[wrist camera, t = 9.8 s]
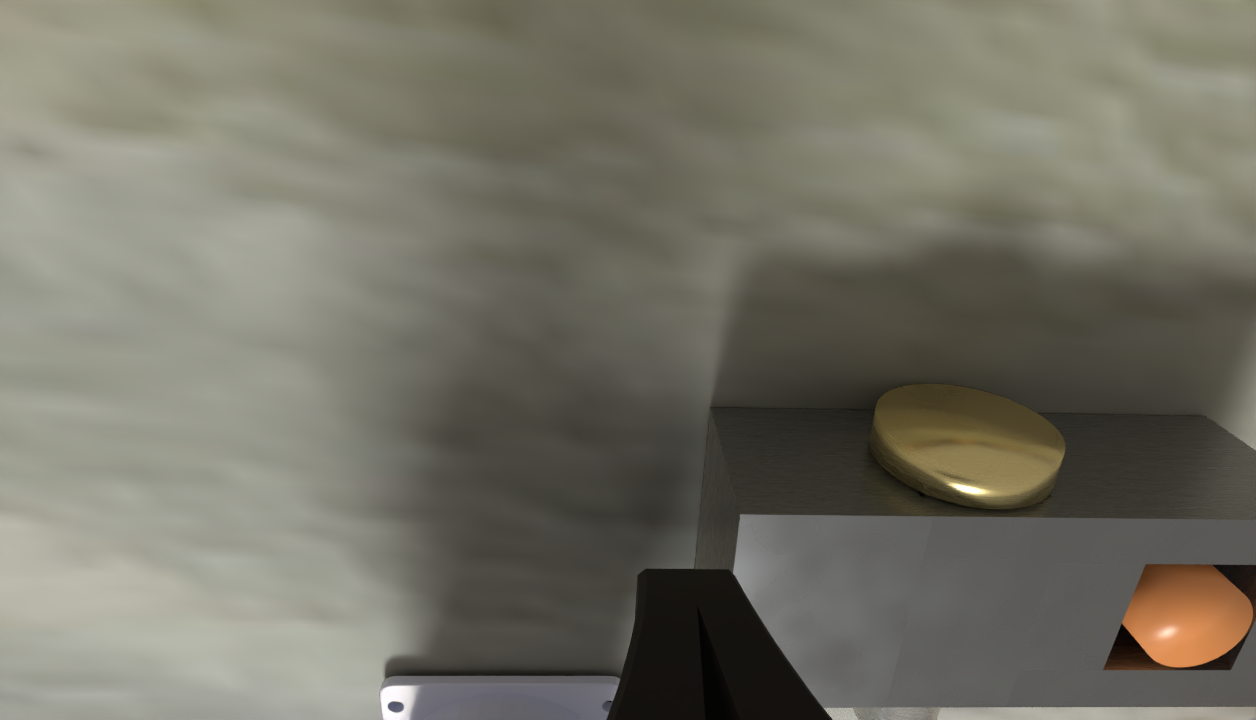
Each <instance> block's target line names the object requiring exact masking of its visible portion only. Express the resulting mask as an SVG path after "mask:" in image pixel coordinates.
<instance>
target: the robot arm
mask: <svg viewBox="0 0 1256 720" xmlns="http://www.w3.org/2000/svg"><path fill="white" fill-rule="evenodd" d="M379 696H380V703H381V711H382V719H383V720H832V719H831V717H830V716H829V715H828V714H827V712H826V711H825V710H824V708H823V707H822V706H821V704H820V703H819V702H818V701H817V699H816V698H815V697H814V695H813V694H812V693H811V691H810V690H809V689H808V687H807V686H806V684H805V683H804V682H803V680H802V679H801V677H800V676H799V675H798V673H797V672H796V671H795V669H794V668H793V666H792V665H791V664H790V662H789V661H788V659H787V658H786V657H785V655H784V654H783V652H782V651H781V649H780V648H779V646H778V645H777V643H776V642H775V640H774V639H773V637H772V636H771V634H770V633H769V631H768V630H767V628H766V627H765V625H764V623H763V622H762V620H761V619H760V617H759V616H758V614H757V612H756V611H755V609H754V608H753V606H752V604H751V603H750V601H749V599H748V598H747V596H746V594H745V592H744V591H743V589H742V587H741V585H740V584H739V582H738V580H737V578H736V576H735V575H734V574H733V573H732V572H731V571H730V570H729V569H645V570H643V571H642V572H641V573H640V574H638V576H637V594H636V611H635V623H634V628H633V633H632V638H631V642H630V646H629V649H628V653H627V657H626V660H625V664H624V668H623V671H622V675H621V679H620V678H618V677H615V676H392V677H389V678H387V679H385V680H384V681H383V683H382V686H381V689H380V694H379ZM394 701H398V702H401V703H398V702H394ZM606 701H613V702H606Z"/></svg>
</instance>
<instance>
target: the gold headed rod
mask: <svg viewBox="0 0 1256 720" xmlns="http://www.w3.org/2000/svg"><path fill="white" fill-rule="evenodd" d="M869 446H870V450H871V452H872V455H873V457H874V458H875V459H876V461H877V462H878V463H879V464H880V465H881V466H882V467H883V468H884V469H885V470H886V471H887V472H888V473H890V474H891V475H892V476H894V477H895V478H896V479H898V480H899V481H901V482H903V483H905V484H906V485H908V486H910V487H912V488H914V489H916V490H917V492H918V493H919V495H920V496H933V497H935V498H939V499H942V500H945V501H948V502H952V503H956V504H960V505H965V506H970V507H977V508H985V509H1015V508H1022V507H1026V506H1031V505H1033V504H1036V503H1039V502H1040V501H1042V500H1044V499H1045V498H1046V497H1047V496H1048V495H1050V493H1051V492H1052V490H1053V487H1054V484H1055V481H1056V478H1057V475H1058V472H1059V469H1060V466H1061V463H1062V460H1063V457H1064V453H1065V449H1066V447H1065V441H1064V439H1063V437H1062V435H1061V434H1060V432H1059V431H1058V430H1057V429H1056V428H1055V427H1054V426H1053V425H1052V424H1051V423H1050V422H1049V421H1048V420H1046V419H1045V418H1044V417H1042V416H1041V415H1039V414H1038V413H1036V412H1034V411H1032V410H1031V409H1029V408H1027V407H1025V406H1023V405H1021V404H1019V403H1016V402H1014V401H1012V400H1009V399H1006V398H1004V397H1001V396H998V395H995V394H992V393H988V392H985V391H981V390H977V389H972V388H967V387H961V386H955V385H945V384H914V385H907V386H902V387H898V388H895V389H893V390H890V391H888V392H887V393H885V394H884V395H882V396H881V397H880V399H879V400H878V401H877V404H876V408H875V413H874V418H873V423H872V428H871V434H870V439H869ZM940 708H941V707H859V708H853V709H854V712H855V714H856V716H857V718H858V720H937V718H938V714H939V711H940Z"/></svg>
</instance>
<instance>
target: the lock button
mask: <svg viewBox="0 0 1256 720" xmlns="http://www.w3.org/2000/svg"><path fill="white" fill-rule="evenodd" d="M1252 618H1253V608H1252V605H1251V602H1250V600H1249V599H1248V598H1247V597H1246V595H1245V594H1243V593H1242V592H1241V591H1240V590H1239V589H1238V588H1237V587H1236V586H1235V585H1234V584H1233V583H1231V582H1230V581H1229V580H1228V579H1227V578H1226V577H1225V576H1224V575H1223V574H1222V573H1221V572H1219V571H1218V570H1217V569H1216V568H1215V567H1214V566H1213V565H1204V564H1146V565H1145V567H1144V569H1143V572H1142V574H1141V577H1140V579H1139V582H1138V584H1137V587H1136V589H1135V592H1134V594H1133V597H1132V599H1131V602H1130V604H1129V607H1128V609H1127V612H1126V614H1125V617H1124V619H1123V622H1122V624H1123V625H1124V626H1125V628H1126V629H1127V630H1128V631H1129V632H1130V634H1131V635H1132V636H1133V637H1134V638H1135V639H1136V641H1137V642H1138V643H1139V644H1140V645H1141V647H1142V648H1143V649H1144V650H1145V651H1146V652H1147V654H1148V655H1149V656H1150V657H1151V658H1152V659H1153V660H1155V661H1156V662H1158V663H1160V664H1162V665H1166V666H1170V667H1191V666H1196V665H1200V664H1203V663H1207V662H1209V661H1212V660H1214V659H1216V658H1218V657H1220V656H1222V655H1223V654H1225V653H1226V652H1228V651H1229V650H1231V649H1232V648H1233V647H1234V646H1235V645H1236V644H1238V643H1239V641H1240V640H1241V639H1242V638H1243V637H1244V636H1245V634H1246V633H1247V631H1248V629H1249V627H1250V625H1251V622H1252Z"/></svg>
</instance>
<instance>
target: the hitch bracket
mask: <svg viewBox="0 0 1256 720" xmlns="http://www.w3.org/2000/svg"><path fill="white" fill-rule="evenodd" d="M874 413H875V410H831V409H774V408H718V407H710V415H709V425H708V436H707V446H706V456H705V467H704V477H703V487H702V498H701V508H700V518H699V529H698V539H697V549H696V560H695V569H729V570H730V571H731V572H732V573H733V574H734V575H735V576H736V578H737V580H738V582H739V584H740V585H741V587H742V589H743V591H744V592H745V594H746V596H747V598H748V599H749V601H750V603H751V604H752V606H753V608H754V609H755V611H756V612H757V614H758V616H759V617H760V619H761V620H762V622H763V623H764V625H765V627H766V628H767V630H768V631H769V633H770V634H771V636H772V637H773V639H774V640H775V642H776V643H777V645H778V646H779V648H780V649H781V651H782V652H783V654H784V655H785V657H786V658H787V659H788V661H789V662H790V664H791V665H792V666H793V668H794V669H795V671H796V672H797V673H798V675H799V676H800V677H801V679H802V680H803V682H804V683H805V684H806V686H807V687H808V689H809V690H810V691H811V693H812V694H813V695H814V697H815V698H816V699H817V701H818V702H819V703H820V704H821V706H822V707H823V708H859V707H1256V450H1254V449H1253V448H1251V447H1250V446H1248V445H1247V444H1245V443H1244V442H1242V441H1241V440H1239V439H1238V438H1236V437H1235V436H1234V435H1232V434H1231V433H1229V432H1228V431H1226V430H1225V429H1223V428H1222V427H1220V426H1219V425H1217V424H1216V423H1215V422H1213V421H1212V420H1210V419H1209V418H1207V417H1206V416H1167V415H1111V414H1055V413H1038V414H1039V415H1041V416H1042V417H1044V418H1045V419H1046V420H1048V421H1049V422H1050V423H1051V424H1052V425H1053V426H1054V427H1055V428H1056V429H1057V430H1058V431H1059V432H1060V434H1061V435H1062V437H1063V439H1064V441H1065V447H1066V449H1065V453H1064V457H1063V460H1062V463H1061V466H1060V469H1059V472H1058V475H1057V478H1056V481H1055V484H1054V487H1053V490H1052V492H1051V493H1050V495H1048V496H1047V497H1046V498H1045V499H1044V500H1042V501H1040V502H1039V503H1036V504H1033V505H1031V506H1026V507H1022V508H1015V509H985V508H977V507H970V506H965V505H960V504H956V503H952V502H948V501H945V500H942V499H939V498H935V497H933V496H920V495H919V493H918V492H917V490H916V489H914V488H912V487H910V486H908V485H906V484H905V483H903V482H901V481H899V480H898V479H896V478H895V477H894V476H892V475H891V474H890V473H888V472H887V471H886V470H885V469H884V468H883V467H882V466H881V465H880V464H879V463H878V462H877V461H876V459H875V458H874V457H873V455H872V452H871V450H870V446H869V439H870V434H871V428H872V423H873V418H874ZM1146 564H1204V565H1213V566H1214V567H1215V568H1216V569H1217V570H1218V571H1219V572H1221V573H1222V574H1223V575H1224V576H1225V577H1226V578H1227V579H1228V580H1229V581H1230V582H1231V583H1233V584H1234V585H1235V586H1236V587H1237V588H1238V589H1239V590H1240V591H1241V592H1242V593H1243V594H1245V595H1246V597H1247V598H1248V599H1249V600H1250V602H1251V605H1252V608H1253V618H1252V622H1251V625H1250V627H1249V629H1248V631H1247V633H1246V634H1245V636H1244V637H1243V638H1242V639H1241V640H1240V641H1239V643H1238V644H1236V645H1235V646H1234V647H1233V648H1232V649H1231V650H1229V651H1228V652H1226V653H1225V654H1223V655H1222V656H1220V657H1218V658H1216V659H1214V660H1212V661H1209V662H1207V663H1203V664H1200V665H1196V666H1191V667H1170V666H1166V665H1162V664H1160V663H1158V662H1156V661H1155V660H1153V659H1152V658H1151V657H1150V656H1149V655H1148V654H1147V652H1146V651H1145V650H1144V649H1143V648H1142V647H1141V645H1140V644H1139V643H1138V642H1137V641H1136V639H1135V638H1134V637H1133V636H1132V635H1131V634H1130V632H1129V631H1128V630H1127V629H1126V628H1125V626H1124V625H1123V624H1122V622H1123V619H1124V617H1125V614H1126V612H1127V609H1128V607H1129V604H1130V602H1131V599H1132V597H1133V594H1134V592H1135V589H1136V587H1137V584H1138V582H1139V579H1140V577H1141V574H1142V572H1143V569H1144V567H1145V565H1146Z"/></svg>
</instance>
